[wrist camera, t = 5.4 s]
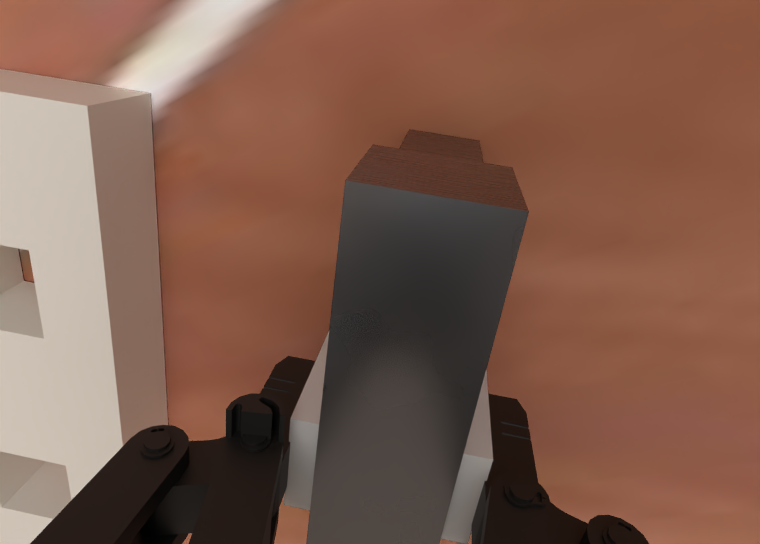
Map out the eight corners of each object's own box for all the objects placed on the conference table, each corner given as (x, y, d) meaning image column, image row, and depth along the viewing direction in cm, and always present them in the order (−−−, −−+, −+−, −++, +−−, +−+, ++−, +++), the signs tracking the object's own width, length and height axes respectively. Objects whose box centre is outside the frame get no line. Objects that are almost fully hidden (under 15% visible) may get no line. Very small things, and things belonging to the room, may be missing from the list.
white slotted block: (-84, 55, 19) (-190, 59, 16) (150, 93, 19) (87, 106, 16) (22, 511, 30) (-31, 568, 26) (174, 545, 29) (139, 608, 26)
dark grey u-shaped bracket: (404, 103, 18) (345, 180, 9) (493, 117, 17) (528, 211, 8) (357, 424, 24) (293, 667, 15) (422, 437, 23) (399, 692, 14)
